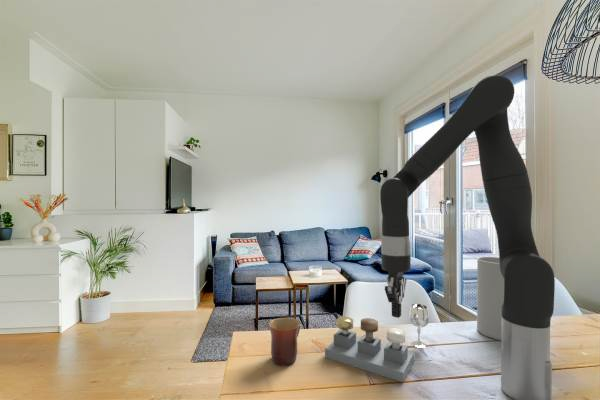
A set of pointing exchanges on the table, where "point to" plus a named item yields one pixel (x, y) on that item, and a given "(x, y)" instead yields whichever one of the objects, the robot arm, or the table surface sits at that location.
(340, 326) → the gold faceted knob
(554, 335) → the table surface
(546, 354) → the robot arm
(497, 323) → the cylinder vase
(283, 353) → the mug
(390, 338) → the cream key
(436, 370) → the table surface
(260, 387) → the table surface
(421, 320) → the wineglass
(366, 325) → the walnut key
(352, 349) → the grey key socket base
